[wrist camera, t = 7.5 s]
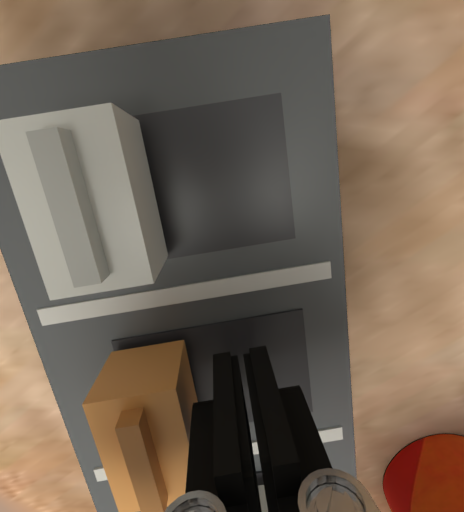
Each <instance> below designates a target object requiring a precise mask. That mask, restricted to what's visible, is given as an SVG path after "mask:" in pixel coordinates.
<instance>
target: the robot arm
mask: <svg viewBox="0 0 464 512" xmlns="http://www.w3.org/2000/svg"><path fill="white" fill-rule="evenodd" d="M243 358H244V364H245V370H246V376H247V383H248V389H249V395H250V401H251V408H252V414H253V420H254V426H255V433H256V439H257V445H258V451H259V458H260V464H261V470H262V476H263V482H264V489H265V495H266V501H267V507H268V512H381V511H380V510H379V508H378V507H377V505H376V503H375V502H374V500H373V499H372V497H371V495H370V494H369V492H368V491H367V490H366V488H365V487H364V486H363V485H362V484H361V482H360V481H359V480H357V479H356V478H355V477H353V476H352V475H351V474H349V473H346V472H344V471H342V470H339V469H333V468H332V466H331V463H330V461H329V458H328V455H327V453H326V450H325V448H324V445H323V443H322V440H321V438H320V435H319V432H318V430H317V427H316V425H315V422H314V420H313V417H312V415H311V412H310V409H309V407H308V404H307V402H306V399H305V397H304V394H303V392H302V389H301V387H300V386H299V385H297V386H291V387H285V388H279V389H278V386H277V382H276V379H275V375H274V372H273V368H272V365H271V362H270V358H269V355H268V351H267V348H266V345H265V346H259V347H253V348H249V353H246V354H243ZM165 512H262V511H261V504H260V497H259V490H258V482H257V475H256V468H255V461H254V454H253V447H252V440H251V433H250V427H249V420H248V414H247V409H246V403H245V397H244V391H243V385H242V379H241V373H240V367H239V361H238V355H234V356H231V353H230V351H229V352H223V353H217V354H213V400H208V401H202V402H196V403H193V405H192V414H191V427H190V439H189V452H188V464H187V477H186V490H185V494H184V495H182V496H180V497H178V498H177V499H176V500H175V501H173V502H172V503H171V504H170V505H169V506H168V508H167V509H166V510H165Z"/></svg>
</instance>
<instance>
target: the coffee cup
mask: <svg viewBox="0 0 464 512" xmlns="http://www.w3.org/2000/svg"><path fill="white" fill-rule="evenodd" d="M383 489H384V493H385V496H386V499H387V502H388V504H389V507H390V509H391V512H464V437H463V436H459V435H454V434H437V435H432V436H428V437H425V438H422V439H419V440H417V441H415V442H413V443H411V444H410V445H408V446H407V447H405V448H404V449H402V450H401V451H400V452H399V453H398V454H397V455H396V456H395V457H394V458H393V460H392V461H391V462H390V464H389V465H388V467H387V469H386V472H385V475H384V479H383Z"/></svg>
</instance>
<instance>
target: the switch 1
mask: <svg viewBox="0 0 464 512" xmlns="http://www.w3.org/2000/svg"><path fill="white" fill-rule="evenodd" d="M0 155H1V158H2V161H3V164H4V167H5V170H6V173H7V175H8V178H9V181H10V184H11V187H12V190H13V193H14V196H15V199H16V202H17V205H18V208H19V211H20V214H21V217H22V220H23V223H24V226H25V229H26V232H27V234H28V237H29V240H30V243H31V246H32V249H33V252H34V255H35V258H36V261H37V264H38V267H39V270H40V273H41V276H42V279H43V282H44V285H45V288H46V291H47V293H48V296H49V299H50V301H51V300H57V299H63V298H69V297H75V296H81V295H87V294H94V293H100V292H106V291H112V290H118V289H124V288H130V287H136V286H142V285H148V284H154V282H155V280H156V279H157V277H158V275H159V273H160V271H161V269H162V267H163V265H164V263H165V261H166V259H167V257H168V252H167V248H166V243H165V238H164V234H163V229H162V225H161V220H160V215H159V211H158V206H157V202H156V197H155V192H154V188H153V183H152V179H151V174H150V169H149V165H148V160H147V156H146V151H145V146H144V142H143V137H142V133H141V128H140V123H139V120H138V119H136V118H134V117H133V116H131V115H130V114H128V113H127V112H125V111H124V110H122V109H120V108H119V107H117V106H116V105H114V104H113V103H105V104H98V105H92V106H85V107H79V108H73V109H66V110H60V111H53V112H47V113H40V114H34V115H28V116H21V117H15V118H8V119H2V120H0Z"/></svg>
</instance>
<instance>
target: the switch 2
mask: <svg viewBox="0 0 464 512" xmlns="http://www.w3.org/2000/svg"><path fill="white" fill-rule="evenodd" d="M196 402H198V401H197V396H196V392H195V387H194V382H193V378H192V373H191V369H190V364H189V360H188V355H187V351H186V346H185V342H184V340H179V341H173V342H167V343H161V344H155V345H149V346H143V347H137V348H131V349H125V350H119V351H113V352H111V353H110V355H109V357H108V359H107V361H106V362H105V364H104V366H103V368H102V370H101V371H100V373H99V375H98V377H97V379H96V380H95V382H94V384H93V386H92V388H91V389H90V391H89V393H88V395H87V397H86V398H85V400H84V402H83V404H82V406H83V409H84V412H85V415H86V418H87V421H88V424H89V427H90V430H91V433H92V435H93V438H94V441H95V444H96V447H97V450H98V453H99V456H100V459H101V462H102V465H103V468H104V471H105V473H106V476H107V479H108V482H109V485H110V488H111V491H112V494H113V497H114V500H115V503H116V506H117V508H118V511H119V512H139V511H141V512H165V510H166V509H167V507H168V506H169V505H170V504H171V503H172V502H173V501H175V500H176V499H177V498H178V497H180V496H182V495H184V494H185V490H186V477H187V464H188V452H189V439H190V427H191V414H192V405H193V403H196Z"/></svg>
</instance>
